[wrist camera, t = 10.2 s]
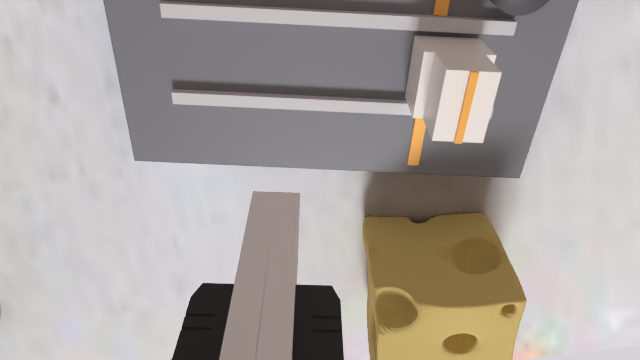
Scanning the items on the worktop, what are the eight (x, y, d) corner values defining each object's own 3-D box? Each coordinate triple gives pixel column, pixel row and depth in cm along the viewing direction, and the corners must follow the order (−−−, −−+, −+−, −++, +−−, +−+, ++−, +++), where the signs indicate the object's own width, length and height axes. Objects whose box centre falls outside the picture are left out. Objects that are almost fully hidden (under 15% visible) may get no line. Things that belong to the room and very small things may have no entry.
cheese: (361, 213, 39) (371, 306, 30) (492, 206, 38) (540, 299, 30) (363, 301, 44) (372, 400, 36) (478, 296, 44) (514, 395, 35)
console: (143, 147, 35) (126, 173, 32) (99, -99, 26) (69, -97, 23) (510, 164, 36) (527, 191, 33) (584, -72, 27) (618, -66, 24)
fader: (404, 96, 30) (421, 141, 25) (414, 35, 28) (435, 70, 23) (465, 99, 30) (494, 145, 25) (479, 38, 28) (515, 74, 23)
